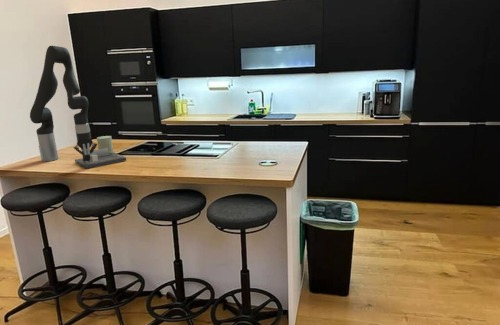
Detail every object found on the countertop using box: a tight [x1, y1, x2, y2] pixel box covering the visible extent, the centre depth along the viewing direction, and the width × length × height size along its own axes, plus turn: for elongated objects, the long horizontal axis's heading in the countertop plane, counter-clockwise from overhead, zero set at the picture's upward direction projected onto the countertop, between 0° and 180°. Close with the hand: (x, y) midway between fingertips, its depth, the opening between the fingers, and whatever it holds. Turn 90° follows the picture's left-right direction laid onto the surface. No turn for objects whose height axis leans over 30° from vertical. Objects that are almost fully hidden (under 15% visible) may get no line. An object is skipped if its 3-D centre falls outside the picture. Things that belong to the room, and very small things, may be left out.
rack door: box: [90, 148, 109, 157], centre depth 221 cm, size 13×2×4 cm, turn 131°
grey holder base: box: [74, 148, 127, 170], centre depth 217 cm, size 24×20×10 cm
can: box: [96, 135, 114, 153], centre depth 236 cm, size 9×9×12 cm
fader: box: [90, 154, 98, 162], centre depth 210 cm, size 3×4×4 cm
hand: (87, 160), depth 208 cm, fingers closed
